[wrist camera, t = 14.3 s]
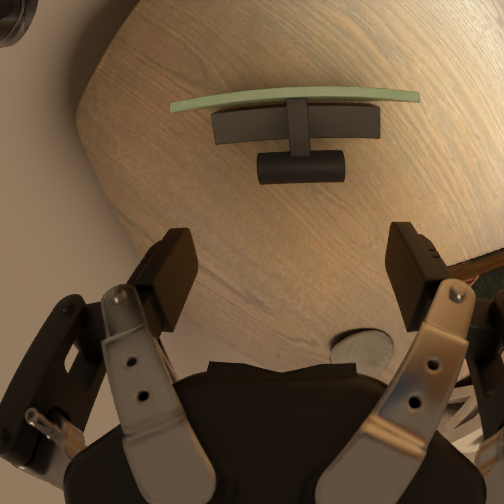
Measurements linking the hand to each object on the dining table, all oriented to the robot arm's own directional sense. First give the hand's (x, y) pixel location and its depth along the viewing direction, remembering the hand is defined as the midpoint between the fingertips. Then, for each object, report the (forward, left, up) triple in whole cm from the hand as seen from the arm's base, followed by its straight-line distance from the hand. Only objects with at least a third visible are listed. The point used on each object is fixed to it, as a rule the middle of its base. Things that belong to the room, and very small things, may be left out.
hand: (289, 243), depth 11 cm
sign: (+1, +5, -12) cm, 13 cm away
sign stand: (+1, +2, -19) cm, 19 cm away
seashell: (+11, -33, -19) cm, 39 cm away
